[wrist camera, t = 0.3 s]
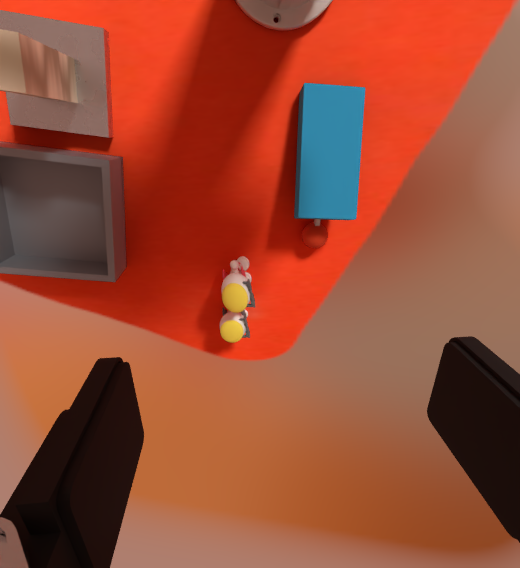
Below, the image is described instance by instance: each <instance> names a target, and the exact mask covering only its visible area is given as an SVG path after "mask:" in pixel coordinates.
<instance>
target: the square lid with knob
mask: <svg viewBox="0 0 520 568" xmlns="http://www.w3.org/2000/svg"><path fill="white" fill-rule="evenodd" d="M0 29H2V30H8V31H14V32H19V33H21V34H23V35H25V36H27V37H29V38H31V39H33V40H36V41H38V42H40V43H42V44H44V45H46V46H48V47H50V48H53V49H55V50H57V51H59V52H61V53H63V54H65V55H67V56H69V57H72V58H74V63H75V76H76V88H77V100H78V103H74V102H67V101H60V100H53V99H46V98H39V97H33V96H28V95H22V94H16V93H11V92H6V97H7V103H8V110H9V116H10V122H11V125H18V126H25V127H33V128H40V129H48V130H55V131H63V132H70V133H78V134H85V135H93V136H100V137H108V138H112V137H113V125H112V103H111V80H110V58H109V36H108V32H107V31H106V30H105V29H104V28H100V27H94V26H88V25H82V24H77V23H71V22H65V21H60V20H54V19H48V18H43V17H37V16H31V15H25V14H20V13H14V12H8V11H3V10H0Z"/></svg>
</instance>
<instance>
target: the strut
mask: <svg viewBox="0 0 520 568" xmlns="http://www.w3.org/2000/svg"><path fill="white" fill-rule="evenodd" d="M0 91H5V92H11V93H16V94H22V95H28V96H33V97H39V98H46V99H53V100H60V101H67V102H74V103H78V100H77V88H76V76H75V63H74V58H72V57H69V56H67V55H65V54H63V53H61V52H59V51H57V50H55V49H53V48H50V47H48V46H46V45H44V44H42V43H40V42H38V41H36V40H33V39H31V38H29V37H27V36H25V35H23V34H21V33H19V32H14V31H8V30H2V29H0Z"/></svg>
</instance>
